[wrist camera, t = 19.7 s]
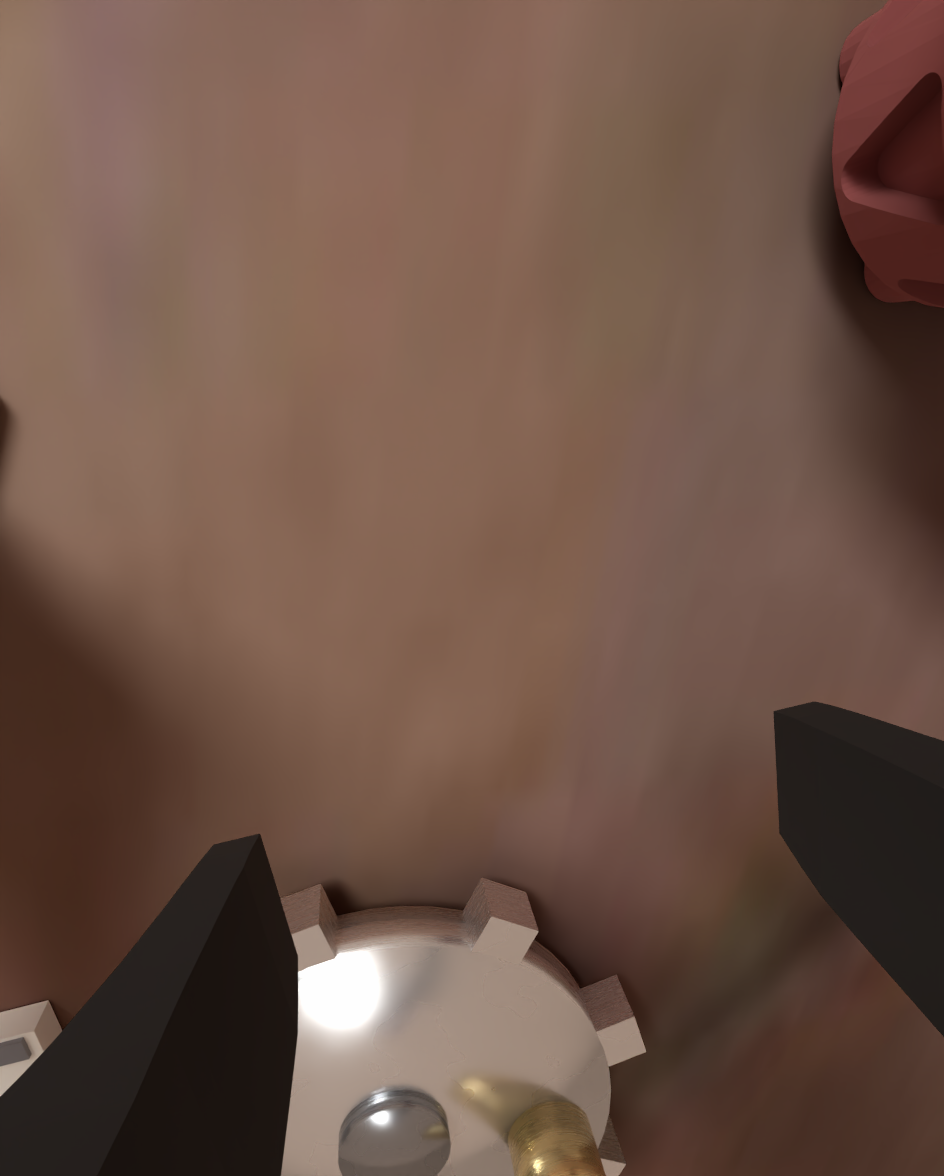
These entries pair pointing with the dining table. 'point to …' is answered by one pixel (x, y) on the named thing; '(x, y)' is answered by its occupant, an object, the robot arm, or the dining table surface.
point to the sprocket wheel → (448, 1045)
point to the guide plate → (24, 1039)
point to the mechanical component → (894, 149)
